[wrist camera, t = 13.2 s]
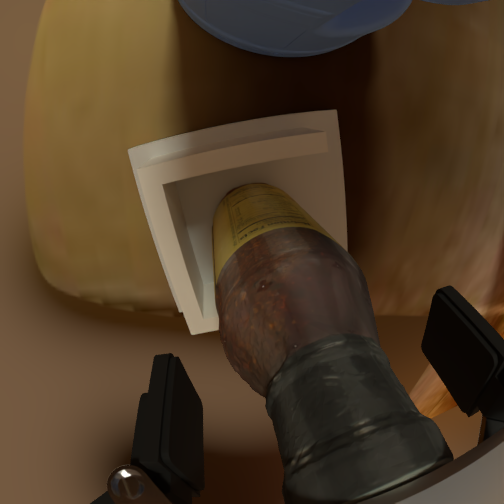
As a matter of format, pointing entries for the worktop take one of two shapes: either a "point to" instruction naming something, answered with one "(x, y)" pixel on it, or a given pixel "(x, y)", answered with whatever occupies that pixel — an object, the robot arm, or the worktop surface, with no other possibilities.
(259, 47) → the water jug
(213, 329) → the end holder
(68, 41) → the worktop surface
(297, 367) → the sauce bottle
